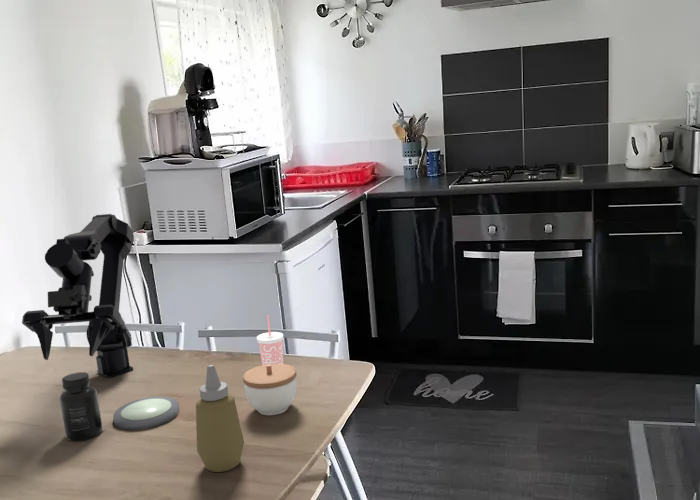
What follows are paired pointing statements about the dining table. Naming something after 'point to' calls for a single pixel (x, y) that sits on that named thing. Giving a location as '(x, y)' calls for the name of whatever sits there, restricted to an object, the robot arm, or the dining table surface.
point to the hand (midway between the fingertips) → (68, 357)
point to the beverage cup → (271, 346)
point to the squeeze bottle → (218, 425)
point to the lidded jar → (270, 387)
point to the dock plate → (146, 413)
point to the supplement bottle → (80, 407)
